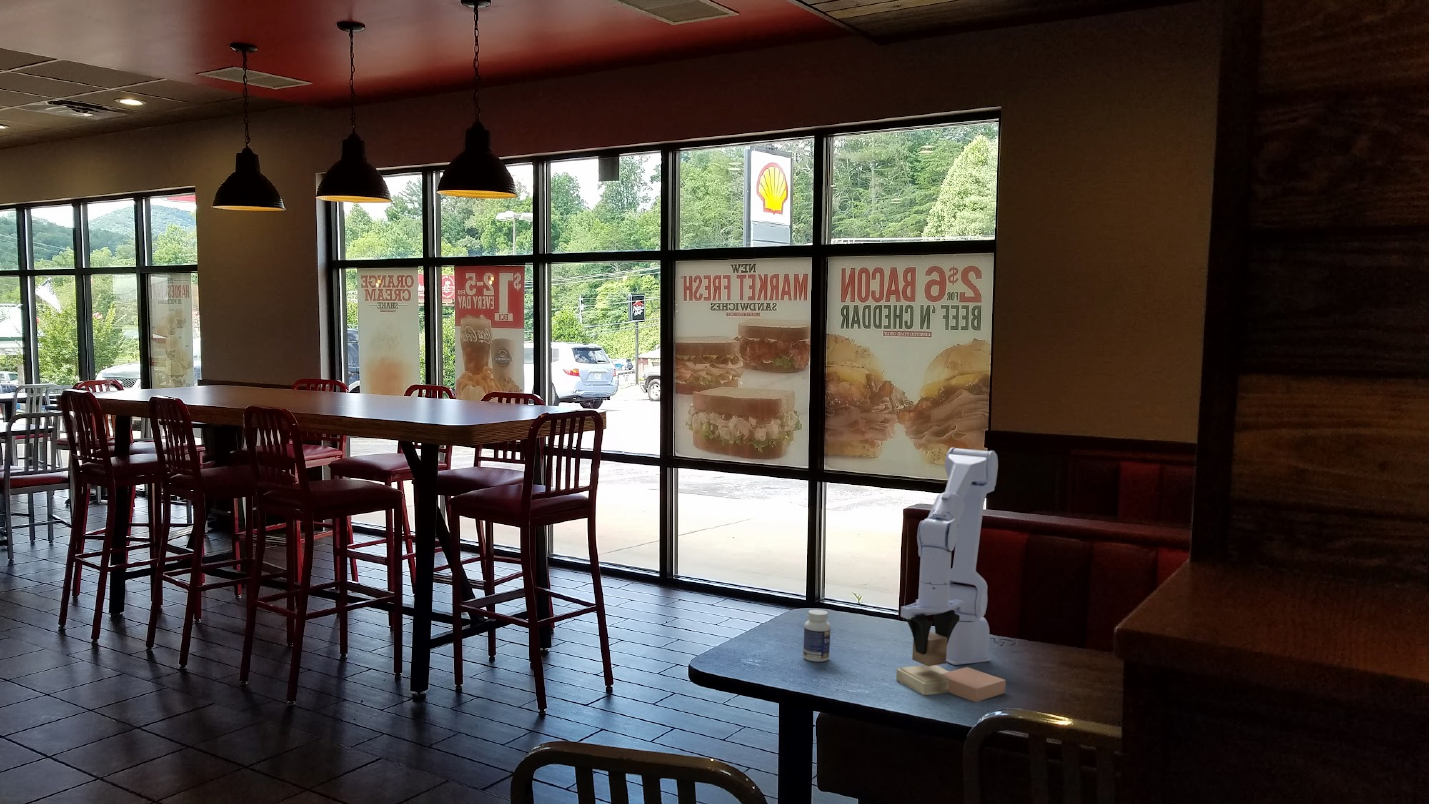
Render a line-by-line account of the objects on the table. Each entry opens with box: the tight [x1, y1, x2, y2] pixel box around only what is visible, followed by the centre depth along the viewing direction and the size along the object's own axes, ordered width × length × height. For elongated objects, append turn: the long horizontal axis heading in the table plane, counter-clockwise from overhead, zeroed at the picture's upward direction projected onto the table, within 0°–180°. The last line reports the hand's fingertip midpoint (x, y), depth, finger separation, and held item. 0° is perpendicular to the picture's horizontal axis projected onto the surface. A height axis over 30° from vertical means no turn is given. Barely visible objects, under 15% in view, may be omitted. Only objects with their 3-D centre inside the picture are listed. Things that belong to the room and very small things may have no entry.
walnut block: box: [911, 631, 947, 666], centre depth 195 cm, size 4×4×5 cm
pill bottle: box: [802, 609, 832, 663], centre depth 208 cm, size 5×5×10 cm
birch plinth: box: [895, 664, 953, 696], centre depth 195 cm, size 9×9×2 cm
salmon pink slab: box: [939, 666, 1007, 703], centre depth 193 cm, size 9×9×2 cm
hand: (930, 651), depth 194 cm, fingers closed on walnut block, 4 cm apart
